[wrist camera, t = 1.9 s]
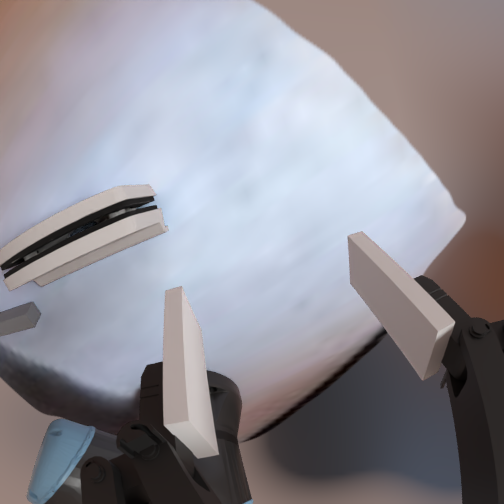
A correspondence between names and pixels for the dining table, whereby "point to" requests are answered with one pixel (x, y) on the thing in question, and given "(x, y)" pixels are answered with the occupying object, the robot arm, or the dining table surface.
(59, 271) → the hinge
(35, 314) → the bracket
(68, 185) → the dining table surface
